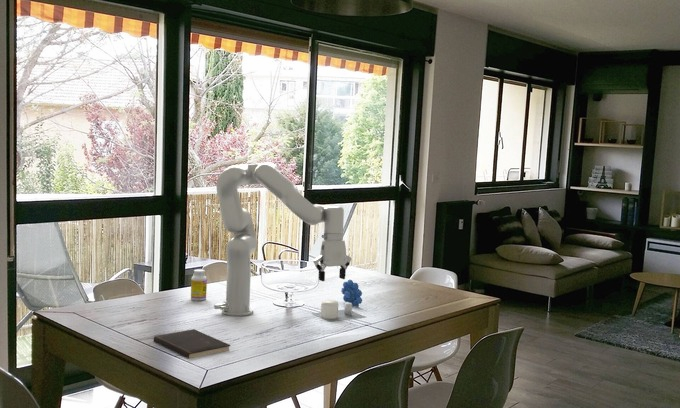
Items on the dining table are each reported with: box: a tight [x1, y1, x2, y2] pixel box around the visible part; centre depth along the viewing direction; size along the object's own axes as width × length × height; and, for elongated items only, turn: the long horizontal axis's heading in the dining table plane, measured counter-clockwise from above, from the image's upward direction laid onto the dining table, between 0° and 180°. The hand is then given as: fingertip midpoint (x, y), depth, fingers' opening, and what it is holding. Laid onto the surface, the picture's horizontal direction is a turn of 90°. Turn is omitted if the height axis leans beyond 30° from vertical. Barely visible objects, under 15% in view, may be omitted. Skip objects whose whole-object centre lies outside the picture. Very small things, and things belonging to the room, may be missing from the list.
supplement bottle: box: [190, 268, 208, 302], centre depth 296 cm, size 7×7×13 cm
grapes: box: [341, 279, 363, 308], centre depth 294 cm, size 12×7×12 cm, turn 47°
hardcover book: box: [153, 328, 231, 359], centre depth 231 cm, size 16×23×2 cm
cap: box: [320, 299, 339, 319], centre depth 272 cm, size 6×6×6 cm
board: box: [310, 302, 367, 323], centre depth 274 cm, size 18×14×6 cm
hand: (332, 279), depth 271 cm, fingers open, 9 cm apart
